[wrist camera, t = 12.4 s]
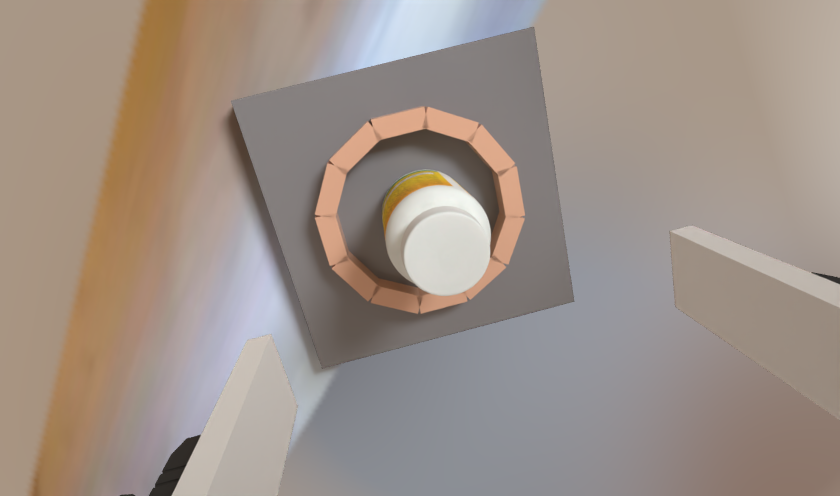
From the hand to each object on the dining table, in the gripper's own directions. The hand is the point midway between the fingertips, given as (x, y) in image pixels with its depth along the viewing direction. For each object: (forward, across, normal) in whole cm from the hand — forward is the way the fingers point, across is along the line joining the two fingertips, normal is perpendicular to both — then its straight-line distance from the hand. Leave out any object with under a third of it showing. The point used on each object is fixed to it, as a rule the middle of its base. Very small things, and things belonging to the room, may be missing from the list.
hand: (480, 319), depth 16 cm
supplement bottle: (+16, 0, 0) cm, 16 cm away
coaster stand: (+18, 0, 0) cm, 18 cm away
